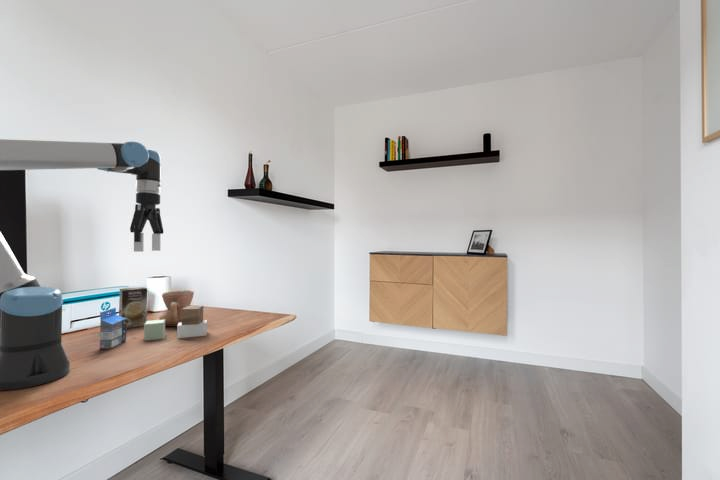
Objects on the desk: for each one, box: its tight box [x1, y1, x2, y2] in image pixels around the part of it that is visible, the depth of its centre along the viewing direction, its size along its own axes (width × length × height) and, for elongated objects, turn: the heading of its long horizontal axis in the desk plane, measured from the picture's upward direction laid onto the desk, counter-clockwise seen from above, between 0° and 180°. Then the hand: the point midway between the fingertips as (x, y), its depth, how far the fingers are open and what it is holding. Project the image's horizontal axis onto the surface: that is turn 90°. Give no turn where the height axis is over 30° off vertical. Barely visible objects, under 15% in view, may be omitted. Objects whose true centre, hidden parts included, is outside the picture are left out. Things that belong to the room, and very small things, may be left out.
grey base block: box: [176, 319, 208, 339], centre depth 128 cm, size 5×10×5 cm, turn 114°
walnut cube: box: [182, 305, 204, 325], centre depth 129 cm, size 6×6×6 cm
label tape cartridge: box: [99, 307, 127, 350], centre depth 116 cm, size 9×4×12 cm, turn 7°
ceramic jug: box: [158, 289, 195, 327], centre depth 145 cm, size 18×14×14 cm
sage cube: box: [143, 319, 166, 341], centre depth 125 cm, size 6×6×6 cm
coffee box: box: [118, 286, 148, 329], centre depth 142 cm, size 9×6×16 cm
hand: (147, 251), depth 121 cm, fingers open, 13 cm apart
